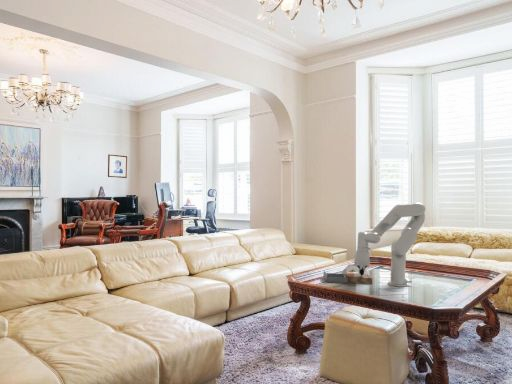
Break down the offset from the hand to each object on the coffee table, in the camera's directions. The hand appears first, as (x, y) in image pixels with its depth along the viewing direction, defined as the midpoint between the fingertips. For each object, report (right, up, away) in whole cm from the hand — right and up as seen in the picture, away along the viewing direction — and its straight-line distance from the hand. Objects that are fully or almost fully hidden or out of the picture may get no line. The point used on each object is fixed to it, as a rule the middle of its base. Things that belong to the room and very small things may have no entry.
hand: (361, 274), depth 272 cm
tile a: (-4, -1, 0) cm, 4 cm away
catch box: (-19, -4, 0) cm, 19 cm away
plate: (-2, -5, 0) cm, 5 cm away
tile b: (-8, 0, 0) cm, 8 cm away
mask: (+3, -6, +29) cm, 29 cm away
